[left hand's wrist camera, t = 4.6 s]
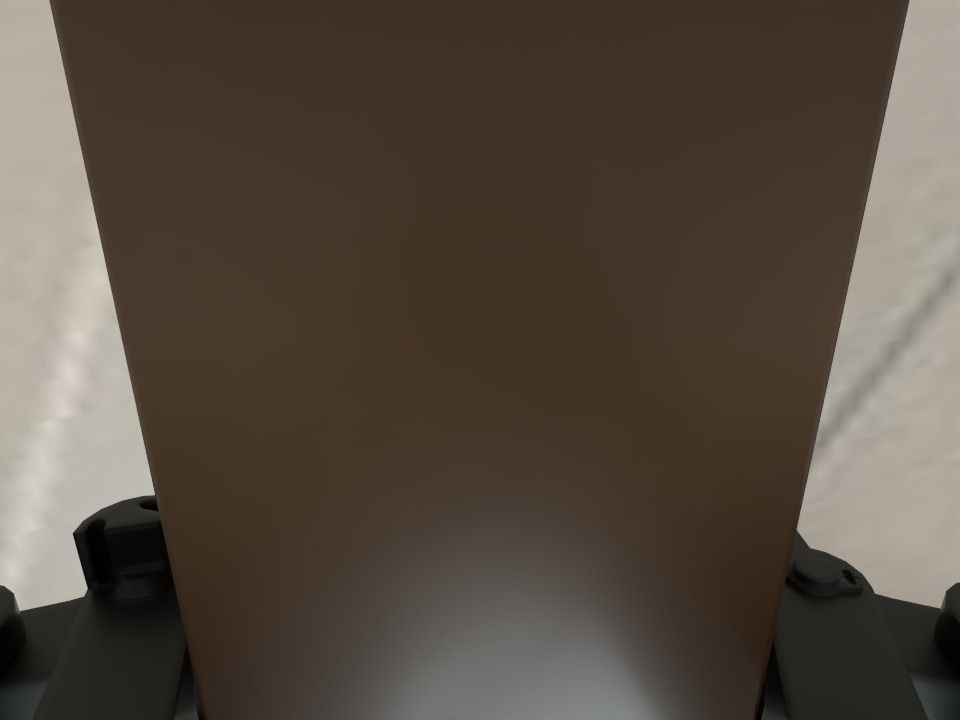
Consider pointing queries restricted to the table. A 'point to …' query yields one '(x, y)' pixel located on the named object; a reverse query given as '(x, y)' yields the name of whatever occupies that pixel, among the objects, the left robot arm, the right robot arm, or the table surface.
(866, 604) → the left robot arm
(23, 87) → the table surface
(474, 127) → the bar
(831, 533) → the table surface
